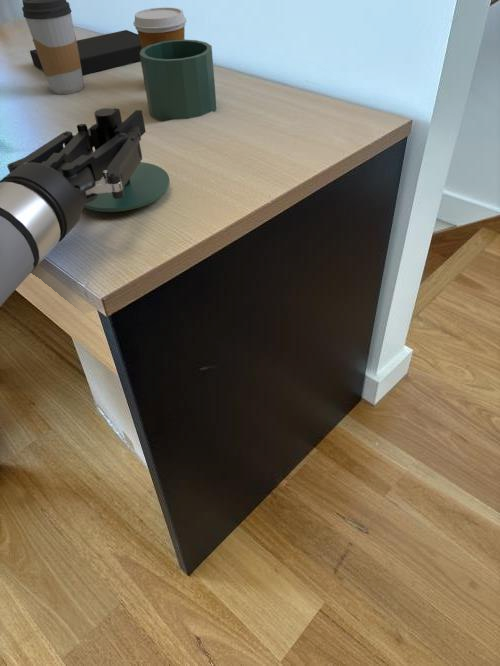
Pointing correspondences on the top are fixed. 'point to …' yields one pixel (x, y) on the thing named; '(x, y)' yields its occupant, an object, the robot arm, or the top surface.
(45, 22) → the coffee cup
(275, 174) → the top surface
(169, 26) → the disposable coffee cup
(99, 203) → the lid
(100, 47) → the external hard drive
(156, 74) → the pot
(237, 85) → the top surface
